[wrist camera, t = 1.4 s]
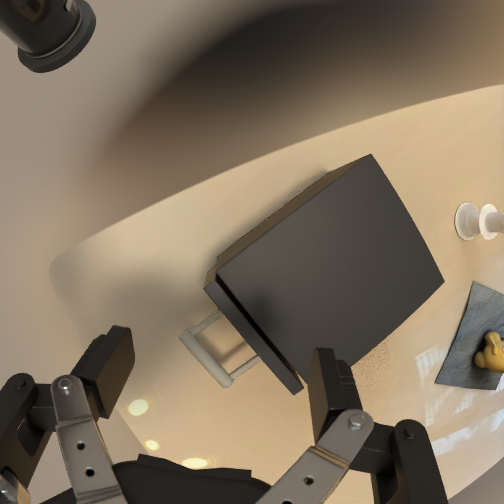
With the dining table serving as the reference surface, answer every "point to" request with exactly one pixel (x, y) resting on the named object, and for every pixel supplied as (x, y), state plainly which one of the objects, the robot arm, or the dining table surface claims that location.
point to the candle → (478, 221)
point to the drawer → (248, 332)
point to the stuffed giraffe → (477, 343)
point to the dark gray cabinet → (333, 267)
